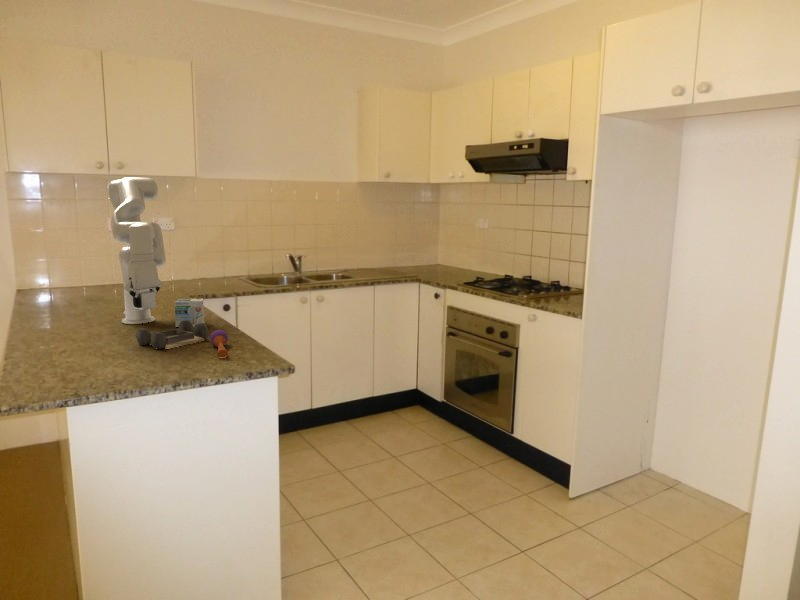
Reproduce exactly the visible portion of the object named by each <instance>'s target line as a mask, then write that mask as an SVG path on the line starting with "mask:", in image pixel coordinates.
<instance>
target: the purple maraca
mask: <svg viewBox="0 0 800 600" xmlns="http://www.w3.org/2000/svg"><path fill="white" fill-rule="evenodd" d="M209 341H210V343H211V345H212V346H214V347H216V348H217V358H218V357H225V356H227V357H229V352H228V350H227V349H226V347H225V345H226V344H228V341H229V336H228V334H227V332H225V330H222V329H216V330H214V331H213V332H212V333H211V334H210V336H209Z"/></svg>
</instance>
